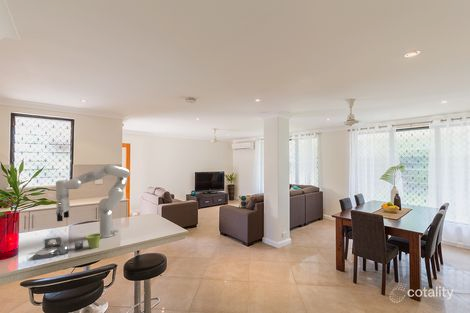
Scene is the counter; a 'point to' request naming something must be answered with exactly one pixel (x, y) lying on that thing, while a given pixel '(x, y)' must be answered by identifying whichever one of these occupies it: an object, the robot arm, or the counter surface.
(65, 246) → the spacer
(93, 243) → the plant pot
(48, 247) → the scale
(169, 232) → the counter surface
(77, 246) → the spacer
